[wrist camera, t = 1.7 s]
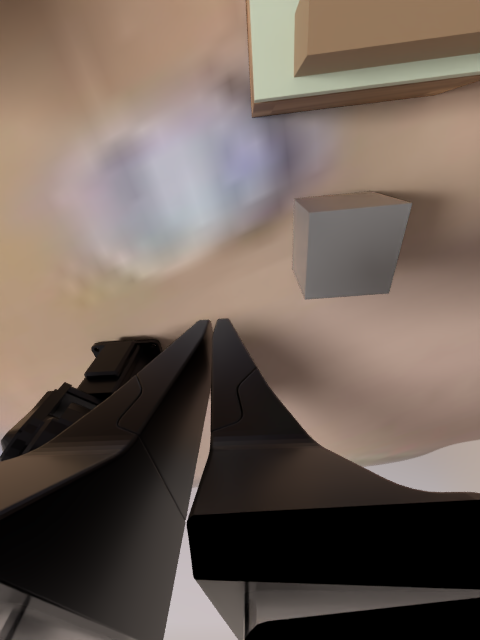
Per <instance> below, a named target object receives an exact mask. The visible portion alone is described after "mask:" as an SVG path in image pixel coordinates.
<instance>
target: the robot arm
mask: <svg viewBox="0 0 480 640" xmlns="http://www.w3.org/2000/svg"><path fill="white" fill-rule="evenodd" d="M152 344H154V345H156V346H154V345H152ZM97 348H98V349H97ZM91 349H92V352H93V353H94V355H95V357H96V359H95V360H94V361H93V363H92V364H91V365H90V367H89V368H88V369H87V371H86V372H85V374H84V376H85V378H84V380H83V381H82V383H81V384H80V385H79V387H78V388H77V389H76V388H74V387H72V385H70V384H68V383H66V382H64V383H63V385H62V386H61V387H60V388H59V389H58V390H56V389H55V390H54V391H47V393H46V394H45V395H44V396H43V397H42V399H41V400H40V401H39V402H38V403H37V405H36V406H35V407H34V408H33V409H32V410H31V411H30V412H29V413H28V414H27V415H26V416H25V417H24V418H23V419H21V420H20V421H19V422H18V423H17V424H16V425H15V426H14V427H13V428H12V429H11V430H9V431H8V432H7V434H6V435H5V436H4V437H3V439H2V440H1V445H2V451H3V453H2V455H1V456H0V640H163V638H164V633H165V628H166V622H167V616H168V611H169V606H170V601H171V596H172V590H173V584H174V580H175V574H176V569H177V564H178V559H179V553H180V548H181V543H182V537H183V532H184V527H185V520H186V516H187V511H188V505H189V500H190V495H191V489H192V484H193V479H194V474H195V468H196V463H197V458H198V453H199V447H200V442H201V437H202V431H203V426H204V421H205V416H206V410H207V405H208V400H209V394H210V389H211V441H210V452H209V456H208V459H207V462H206V465H205V468H204V471H203V474H202V477H201V480H200V483H199V487H198V490H197V493H196V496H195V499H194V502H193V505H192V508H191V511H190V514H189V517H188V520H187V530H188V537H189V545H190V553H191V560H192V569H193V576H194V579H195V580H196V581H197V583H198V584H199V585H200V587H201V588H202V590H203V591H204V592H205V594H206V595H207V597H208V598H209V599H210V601H211V602H212V604H213V605H214V606H215V608H216V609H217V611H218V612H219V613H220V615H221V616H222V618H223V619H224V620H225V622H226V623H227V624H228V626H229V627H230V629H231V630H232V631H233V633H234V634H235V636H236V637H237V638H238V640H480V493H475V492H427V491H422V490H417V489H412V488H409V487H405V486H402V485H399V484H396V483H394V482H392V481H390V480H387V479H385V478H383V477H381V476H379V475H377V474H375V473H373V472H371V471H369V470H367V469H365V468H363V467H361V466H359V465H357V464H355V463H353V462H352V461H350V460H348V459H346V458H344V457H342V456H340V455H338V454H336V453H334V452H332V451H330V450H328V449H326V448H324V447H322V446H321V445H320V444H318V443H317V442H316V441H315V440H313V439H312V438H311V437H310V436H309V435H308V434H307V432H306V431H305V430H304V429H303V428H302V427H301V425H300V424H299V423H298V422H297V421H296V419H295V418H294V417H293V416H292V414H291V413H290V412H289V411H288V410H287V408H286V407H285V406H284V405H283V404H282V402H281V401H280V400H279V399H278V398H277V396H276V395H275V394H274V392H273V391H272V390H271V388H270V387H269V386H268V384H267V382H266V381H265V379H264V378H263V376H262V375H261V373H260V371H259V370H258V368H257V366H256V365H255V363H254V361H253V359H252V358H251V356H250V354H249V352H248V351H247V349H246V347H245V346H244V344H243V342H242V340H241V339H240V337H239V335H238V334H237V332H236V330H235V328H234V327H233V325H232V323H231V322H230V320H229V319H228V318H225V319H218V320H217V323H216V326H215V329H214V332H213V330H212V325H211V321H210V320H199V321H198V322H196V323H195V324H194V325H193V326H192V327H191V328H190V329H188V330H187V331H186V332H185V333H184V334H183V335H181V336H180V337H179V338H178V339H177V340H176V341H174V342H173V343H172V344H171V345H170V346H169V347H168V348H166V349H165V350H164V351H162V348H161V345H160V343H159V341H157V340H138V341H118V342H106V343H95V344H94V345H93V346H92V348H91Z"/></svg>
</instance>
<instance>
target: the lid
mask: <svg viewBox="0 0 480 640" xmlns="http://www.w3.org/2000/svg"><path fill="white" fill-rule="evenodd" d="M249 2H250V23H251V44H252V65H253V86H254V103H259V102H267V101H275V100H282V99H290V98H298V97H306V96H314V95H322V94H330V93H338V92H346V91H354V90H362V89H369V88H377V87H385V86H393V85H401V84H409V83H417V82H425V81H433V80H441V79H448V78H456V77H464V76H472V75H480V0H249Z"/></svg>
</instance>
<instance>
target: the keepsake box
mask: <svg viewBox="0 0 480 640" xmlns="http://www.w3.org/2000/svg"><path fill="white" fill-rule="evenodd" d="M246 14H247V33H248V52H249V71H250V90H251V109H252V118H253V117H261V116H269V115H277V114H286V113H294V112H302V111H310V110H318V109H326V108H335V107H343V106H351V105H359V104H367V103H375V102H383V101H392V100H400V99H408V98H416V97H424V96H432V95H436V94H439V93H442V92H446V91H449V90H452V89H455V88H458V87H461V86H464V85H467V84H471V83H474V82H477V81H480V75H472V76H464V77H456V78H448V79H441V80H433V81H425V82H417V83H409V84H401V85H393V86H385V87H377V88H369V89H362V90H354V91H346V92H338V93H330V94H322V95H314V96H306V97H298V98H290V99H282V100H275V101H267V102H259V103H254V86H253V65H252V44H251V23H250V2H249V0H246Z"/></svg>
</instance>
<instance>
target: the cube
mask: <svg viewBox="0 0 480 640" xmlns="http://www.w3.org/2000/svg"><path fill="white" fill-rule="evenodd" d="M411 206H412V203H411V202H407V201H404V200H400V199H397V198H393V197H390V196H386V195H383V194H379V193H376V192H372V191H366V192H356V193H346V194H336V195H326V196H316V197H306V198H296V199H294V209H293V255H292V270H293V272H294V275H295V277H296V280H297V282H298V284H299V287H300V289H301V292H302V294H303V296H304V299H319V298H332V297H346V296H360V295H373V294H387V293H389V291H390V287H391V283H392V280H393V276H394V272H395V268H396V264H397V260H398V256H399V253H400V249H401V245H402V241H403V237H404V233H405V230H406V226H407V222H408V218H409V214H410V210H411Z"/></svg>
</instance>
